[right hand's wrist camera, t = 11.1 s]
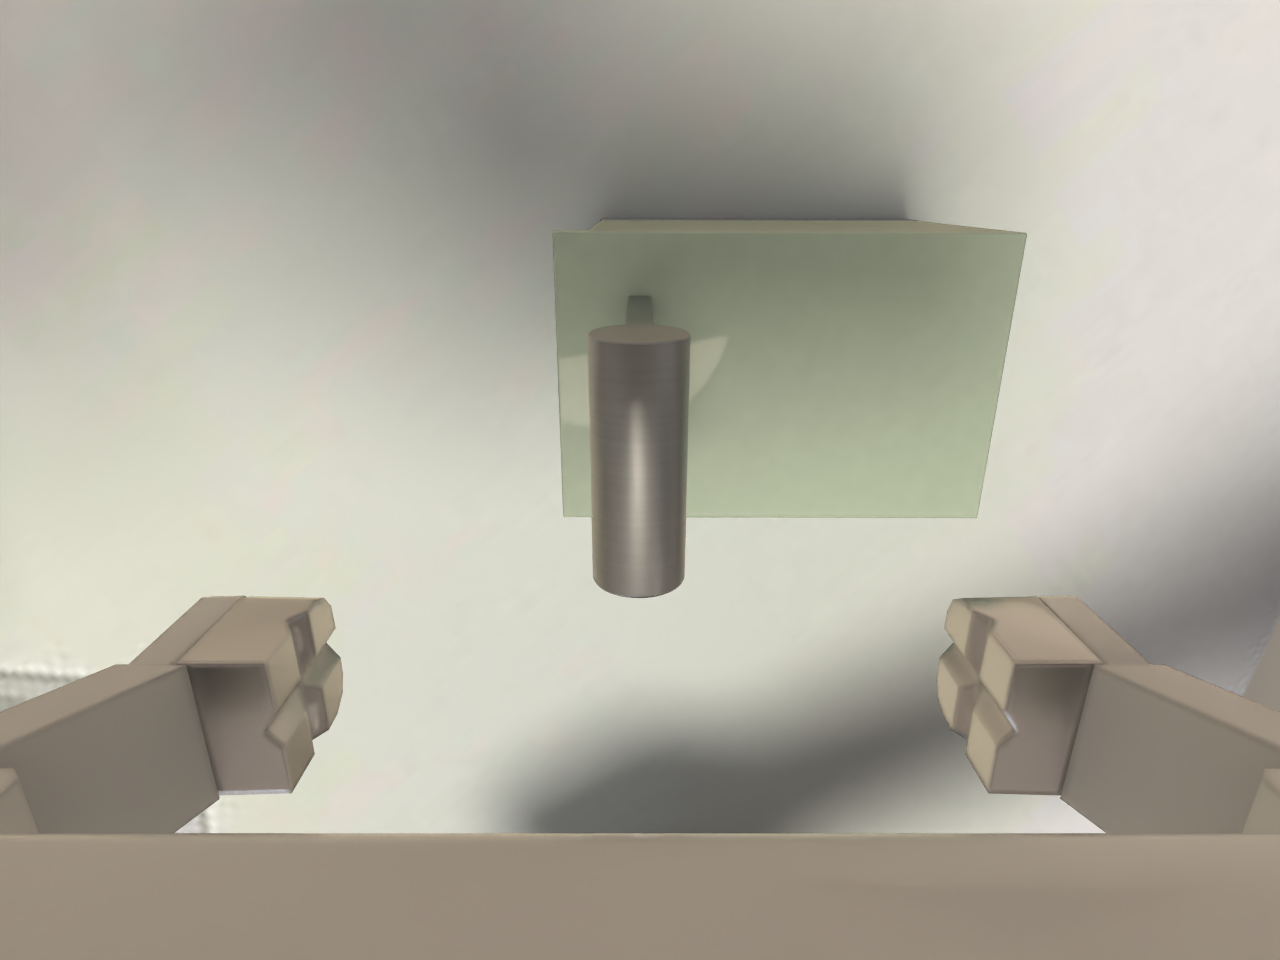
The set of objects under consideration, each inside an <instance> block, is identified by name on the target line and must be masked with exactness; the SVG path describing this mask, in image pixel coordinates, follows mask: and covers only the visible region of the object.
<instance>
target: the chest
mask: <svg viewBox="0 0 1280 960" xmlns="http://www.w3.org/2000/svg"><path fill="white" fill-rule="evenodd" d="M589 230H694V231H1003V230H994V229H985V228H976V227H967V226H958V225H949V224H940V223H931V222H922V221H916V220H904V219H601V220H600V222H598V223H597V224H596V225H594V226H593V227H592V228H590V229H589Z"/></svg>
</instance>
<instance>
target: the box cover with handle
mask: <svg viewBox="0 0 1280 960" xmlns="http://www.w3.org/2000/svg"><path fill="white" fill-rule="evenodd" d="M1026 237H1027V234H1026V233H1022V232H1013V231H694V230H558V231H555V232H553V256H554V282H555V309H556V335H557V362H558V389H559V415H560V442H561V468H562V495H563V516H564V517H592V548H593V578H594V580H595V582H596V584H597V585H598V586H599V587H600V588H602V589H603V590H605V591H607V592H609V593H612V594H614V595H618V596H623V597H630V598H648V597H655V596H660V595H663V594H666V593H669V592H671V591H673V590H675V589H676V588H677V587H679V586H680V584H681V583H682V581H683V579H684V574H685V535H686V517H787V518H977V515H978V509H979V504H980V498H981V492H982V487H983V481H984V475H985V470H986V464H987V458H988V453H989V447H990V441H991V436H992V430H993V424H994V419H995V413H996V407H997V402H998V396H999V390H1000V384H1001V379H1002V373H1003V367H1004V362H1005V356H1006V350H1007V345H1008V339H1009V333H1010V328H1011V322H1012V316H1013V311H1014V305H1015V299H1016V294H1017V288H1018V282H1019V277H1020V271H1021V265H1022V259H1023V254H1024V248H1025V242H1026Z"/></svg>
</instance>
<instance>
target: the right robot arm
mask: <svg viewBox="0 0 1280 960" xmlns="http://www.w3.org/2000/svg"><path fill="white" fill-rule="evenodd" d="M334 630H335V623H334V618H333V613H332V608H331V605H330V604H329V603H328V602H327V601H326V600H325V599H324V598H301V597H246V596H215V597H205V598H201V599H200V600H199V601H198V602H197V603H195V604H194V605H193V606H192V607H191V608H190V609H189V610H188V611H187V612H186V613H184V614H183V615H182V616H181V617H180V618H179V619H178V620H177V621H176V622H175V623H174V624H172V625H171V626H170V627H169V628H168V629H167V630H166V631H165V632H164V633H163V634H161V635H160V636H159V637H158V638H157V639H156V640H155V641H154V642H153V643H152V644H151V645H149V646H148V647H147V648H146V649H145V650H144V651H143V652H142V653H141V654H140V655H138V656H137V657H136V658H135V659H134V660H133V661H132V662H131V663H130V664H129V665H113V666H111V667H109V668H106V669H104V670H101V671H99V672H96V673H94V674H92V675H89V676H87V677H84V678H82V679H79V680H77V681H74V682H72V683H70V684H67V685H65V686H62V687H60V688H57V689H55V690H53V691H50V692H48V693H45V694H43V695H40V696H38V697H35V698H33V699H31V700H28V701H26V702H23V703H21V704H18V705H16V706H14V707H11V708H9V709H6V710H4V711H1V712H0V960H1280V712H1278V711H1276V710H1273V709H1271V708H1269V707H1266V706H1264V705H1261V704H1259V703H1256V702H1254V701H1252V700H1249V699H1247V698H1244V697H1242V696H1239V695H1237V694H1235V693H1232V692H1230V691H1227V690H1225V689H1222V688H1220V687H1218V686H1215V685H1213V684H1210V683H1208V682H1205V681H1203V680H1201V679H1198V678H1196V677H1193V676H1191V675H1188V674H1186V673H1184V672H1181V671H1179V670H1176V669H1174V668H1171V667H1169V666H1167V665H1151V664H1150V663H1149V662H1148V661H1147V660H1146V659H1145V658H1144V657H1143V656H1142V655H1141V654H1139V653H1138V652H1137V651H1136V650H1135V649H1134V648H1133V647H1132V646H1131V645H1130V644H1129V643H1127V642H1126V641H1125V640H1124V639H1123V638H1122V637H1121V636H1120V635H1119V634H1118V633H1116V632H1115V631H1114V630H1113V629H1112V628H1111V627H1110V626H1109V625H1108V624H1107V623H1106V622H1104V621H1103V620H1102V619H1101V618H1100V617H1099V616H1098V615H1097V614H1096V613H1095V612H1094V611H1092V610H1091V609H1090V608H1089V607H1088V606H1087V605H1086V604H1085V603H1084V602H1083V601H1082V600H1080V599H1079V598H1075V597H1072V596H1047V597H997V598H961V599H954V600H952V603H951V605H950V607H949V609H948V611H947V617H946V622H945V630H946V631H947V633H948V634H949V636H950V637H951V639H952V641H953V642H954V643H953V644H952V645H951V646H950V647H949V648H948V649H947V650H946V651H945V652H944V653H943V654H942V655H941V657H940V658H939V666H938V674H937V688H938V698H939V703H940V706H941V709H942V712H943V716H944V717H945V719H946V721H947V723H948V725H949V726H950V728H951V730H953V731H954V732H956V733H958V734H959V735H961V736H962V737H964V738H965V739H967V740H968V742H967V748H966V753H965V754H966V756H967V758H968V759H969V761H970V763H971V764H972V766H973V768H974V770H975V771H976V773H977V775H978V776H979V778H980V780H981V781H982V783H983V785H984V787H985V788H986V790H987V792H988V793H996V794H1032V795H1061V797H1060V799H1062V800H1063V801H1064V802H1066V803H1067V804H1068V805H1070V806H1071V807H1072V808H1074V809H1075V810H1076V811H1078V812H1079V813H1080V814H1082V815H1083V816H1084V817H1086V818H1087V819H1088V820H1090V821H1091V822H1092V823H1094V824H1095V825H1096V826H1098V827H1099V828H1100V829H1102V830H1103V831H1104V832H1106V833H175V832H176V831H177V830H179V829H180V828H181V827H183V826H184V825H185V824H187V823H188V822H189V821H191V820H192V819H193V818H195V817H196V816H197V815H199V814H200V813H201V812H203V811H204V810H205V809H207V808H208V807H209V806H211V805H212V804H213V803H215V802H216V801H217V800H219V795H247V794H282V793H292V792H293V790H294V788H295V787H296V785H297V783H298V782H299V780H300V778H301V776H302V775H303V773H304V771H305V770H306V768H307V766H308V765H309V763H310V761H311V759H312V758H313V756H314V754H315V753H314V748H313V742H312V740H313V739H315V738H316V737H318V736H319V735H321V734H322V733H324V732H326V731H327V730H329V728H330V726H331V725H332V723H333V721H334V719H335V717H336V715H337V713H338V709H339V705H340V701H341V697H342V693H343V671H342V665H341V658H340V657H339V655H338V654H337V653H336V652H335V651H334V650H333V649H332V648H331V647H330V646H329V645H328V644H327V643H326V642H327V641H328V639H329V637H330V636H331V634H332V633H333V631H334Z"/></svg>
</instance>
